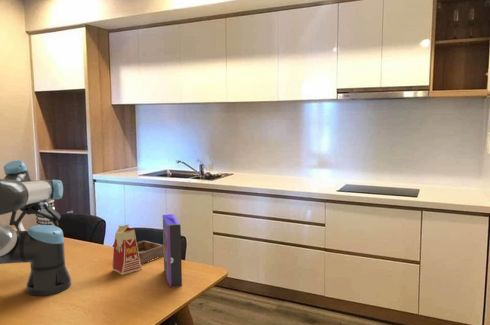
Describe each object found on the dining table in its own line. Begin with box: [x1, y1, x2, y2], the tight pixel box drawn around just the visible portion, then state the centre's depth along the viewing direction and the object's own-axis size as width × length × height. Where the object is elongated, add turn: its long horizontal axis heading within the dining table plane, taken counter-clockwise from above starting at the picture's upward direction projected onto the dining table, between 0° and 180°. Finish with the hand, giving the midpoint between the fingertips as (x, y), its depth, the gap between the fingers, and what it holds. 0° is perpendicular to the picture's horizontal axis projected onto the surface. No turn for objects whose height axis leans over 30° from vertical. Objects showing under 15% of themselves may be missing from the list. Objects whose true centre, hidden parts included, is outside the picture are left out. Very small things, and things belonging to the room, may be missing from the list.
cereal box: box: [162, 213, 183, 288], centre depth 160 cm, size 17×5×24 cm, turn 18°
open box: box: [137, 240, 164, 265], centre depth 184 cm, size 14×14×5 cm
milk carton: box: [112, 224, 143, 276], centre depth 169 cm, size 9×9×20 cm
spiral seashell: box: [34, 200, 57, 226], centre depth 197 cm, size 9×9×25 cm
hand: (40, 233), depth 176 cm, fingers open, 13 cm apart
